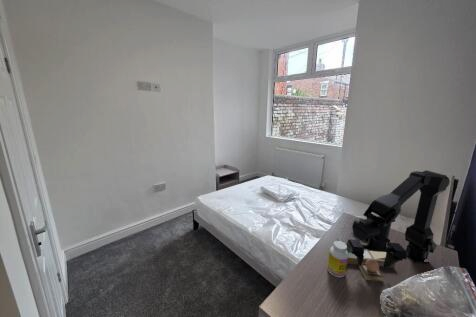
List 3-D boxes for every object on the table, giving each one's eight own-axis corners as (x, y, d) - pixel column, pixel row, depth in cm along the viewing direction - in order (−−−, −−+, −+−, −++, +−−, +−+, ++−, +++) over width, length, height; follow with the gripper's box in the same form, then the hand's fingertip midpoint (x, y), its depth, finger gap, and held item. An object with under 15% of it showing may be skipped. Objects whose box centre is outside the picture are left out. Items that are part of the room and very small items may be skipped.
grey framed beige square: (374, 268, 82) (375, 264, 81) (382, 281, 76) (383, 276, 75) (359, 267, 82) (359, 262, 82) (365, 279, 77) (366, 274, 76)
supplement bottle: (337, 281, 76) (342, 253, 73) (323, 268, 82) (326, 242, 79) (349, 274, 79) (353, 247, 76) (334, 262, 85) (338, 237, 81)
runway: (381, 250, 91) (383, 241, 90) (394, 268, 82) (396, 258, 80) (336, 246, 94) (337, 237, 93) (343, 263, 85) (345, 253, 83)
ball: (374, 266, 80) (376, 257, 79) (380, 275, 76) (382, 265, 75) (362, 265, 81) (364, 256, 80) (367, 273, 77) (369, 264, 76)
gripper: (394, 221, 80) (386, 254, 84) (344, 218, 83) (339, 249, 87) (412, 240, 70) (403, 275, 74) (355, 235, 72) (349, 270, 77)
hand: (372, 266), depth 78 cm, fingers open, 9 cm apart
